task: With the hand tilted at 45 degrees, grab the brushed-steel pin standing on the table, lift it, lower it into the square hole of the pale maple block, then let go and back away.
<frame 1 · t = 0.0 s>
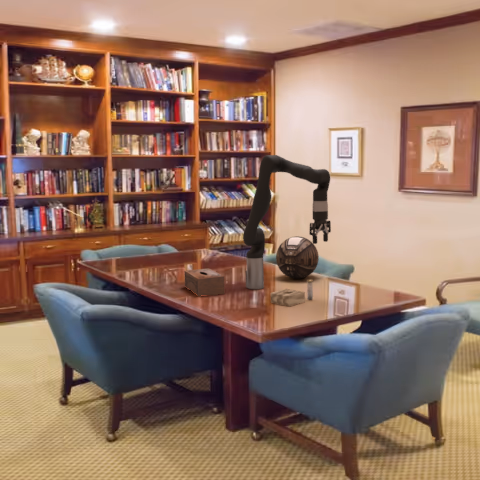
hand: (320, 242, 300), 29 cm above the table, tool pointing down, fingers open, 8 cm apart
sphere: (297, 278, 359), on the table
maple hitch block: (287, 302, 301), on the table
tissue box cover: (204, 291, 331), on the table
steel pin: (310, 299, 306), on the table
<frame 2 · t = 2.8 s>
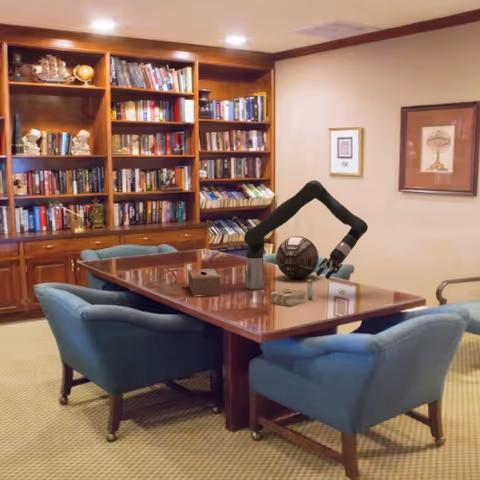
hand: (321, 276, 307), 11 cm above the table, tool tilted 45°, fingers open, 8 cm apart
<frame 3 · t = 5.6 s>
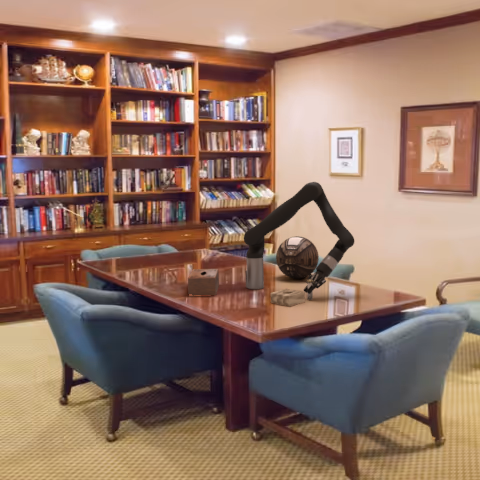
hand: (306, 292, 305), 4 cm above the table, tool tilted 45°, fingers closed on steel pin, 2 cm apart
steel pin: (310, 299, 306), on the table, touching gripper
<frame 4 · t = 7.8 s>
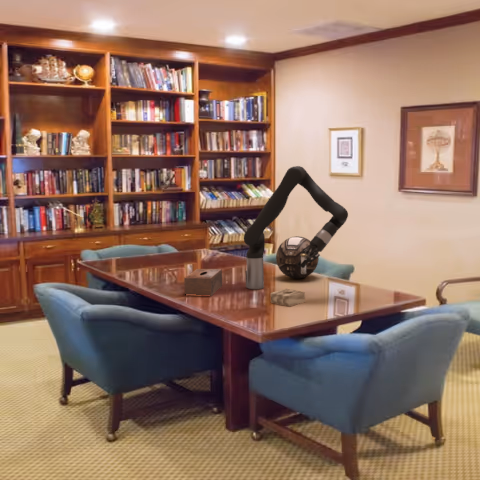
hand: (300, 266, 302), 18 cm above the table, tool tilted 45°, fingers closed on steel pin, 2 cm apart
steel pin: (303, 273, 303), point 14 cm above the table, touching gripper
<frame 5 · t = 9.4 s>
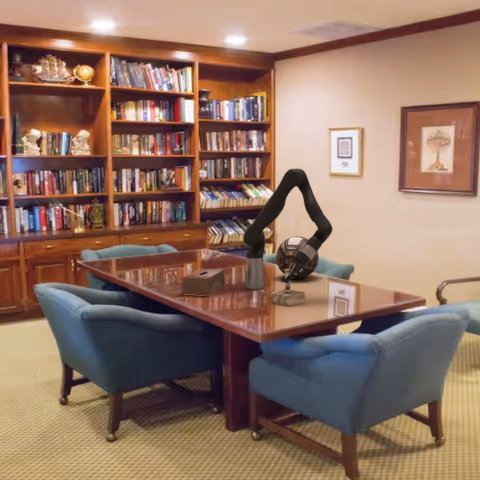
hand: (284, 281, 299), 11 cm above the table, tool tilted 45°, fingers closed on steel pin, 2 cm apart
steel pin: (287, 289, 300), point 7 cm above the table, touching gripper
when the fingers open (7 cm above the table, at t = 10.4 s): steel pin drops 3 cm, resting in maple hitch block.
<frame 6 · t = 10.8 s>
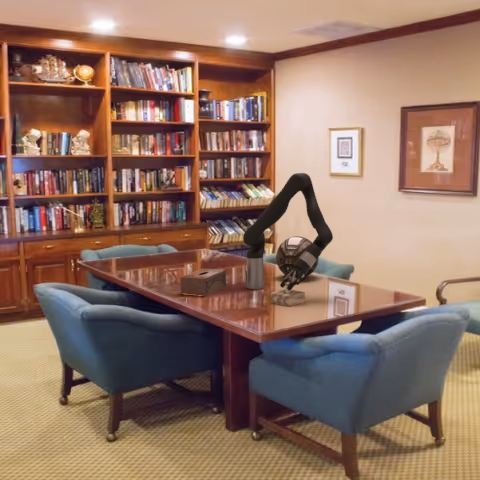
hand: (284, 288, 299), 7 cm above the table, tool tilted 45°, fingers open, 6 cm apart
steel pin: (287, 302, 301), resting in maple hitch block
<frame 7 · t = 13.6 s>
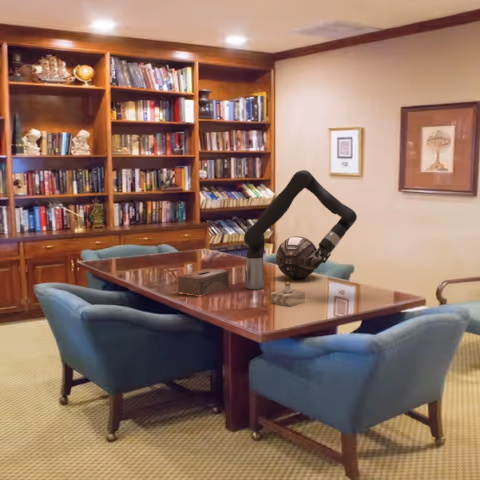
hand: (310, 266, 305), 17 cm above the table, tool tilted 45°, fingers open, 8 cm apart
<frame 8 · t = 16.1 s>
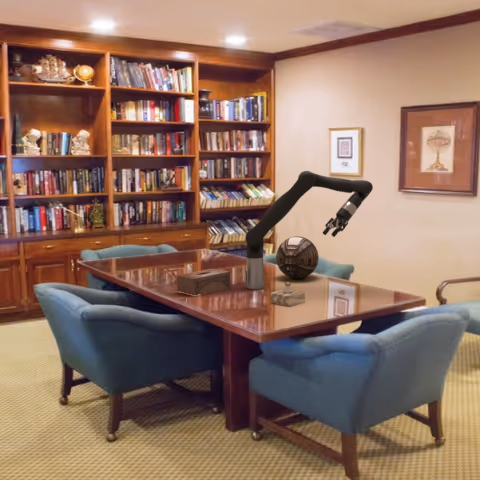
hand: (328, 234, 317), 31 cm above the table, tool tilted 45°, fingers open, 8 cm apart
at the end: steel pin 0.1 cm off-centre on the maple hitch block, point 0.0 cm above the maple hitch block's base; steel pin tilted 0°; the gripper is holding nothing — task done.
